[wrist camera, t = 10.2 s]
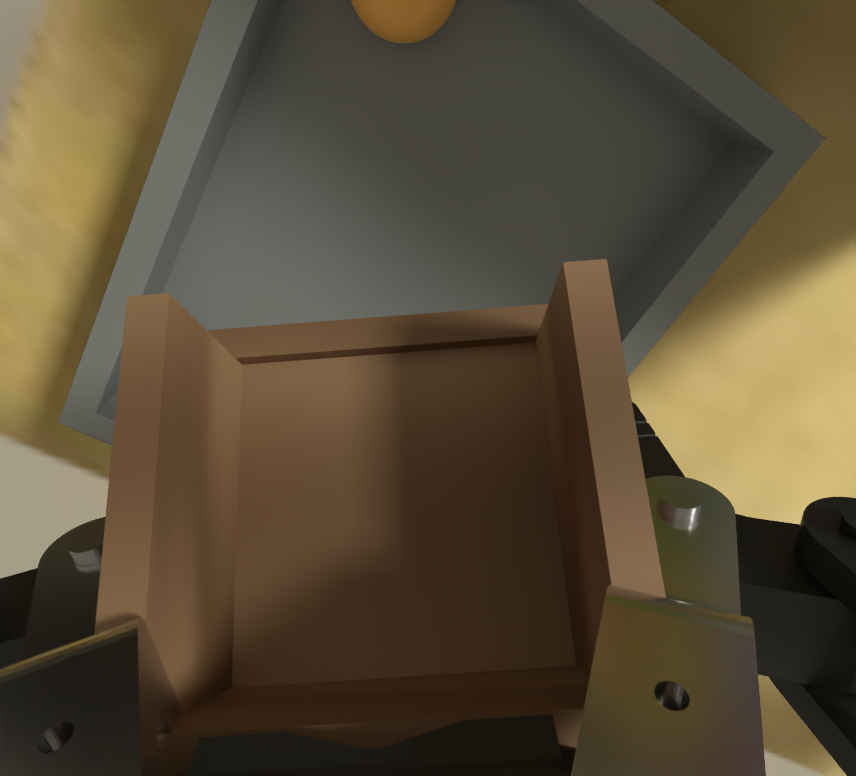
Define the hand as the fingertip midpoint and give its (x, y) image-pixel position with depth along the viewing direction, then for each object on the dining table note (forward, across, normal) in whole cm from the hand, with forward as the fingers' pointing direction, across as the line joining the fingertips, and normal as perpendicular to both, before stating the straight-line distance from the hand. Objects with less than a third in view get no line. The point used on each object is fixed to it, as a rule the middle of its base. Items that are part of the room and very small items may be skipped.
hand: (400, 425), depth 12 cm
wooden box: (+2, 0, +4) cm, 5 cm away
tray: (+11, 0, 0) cm, 11 cm away
